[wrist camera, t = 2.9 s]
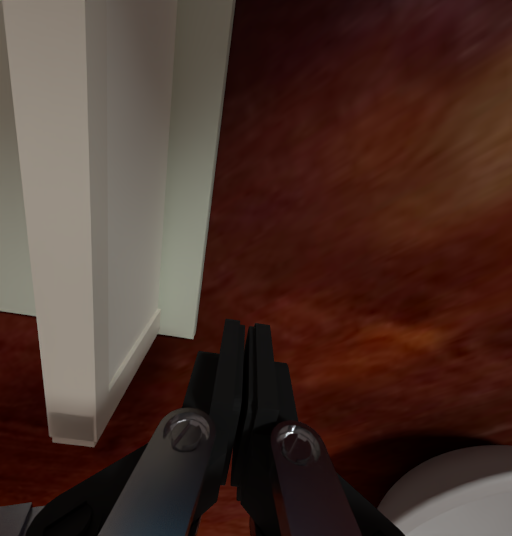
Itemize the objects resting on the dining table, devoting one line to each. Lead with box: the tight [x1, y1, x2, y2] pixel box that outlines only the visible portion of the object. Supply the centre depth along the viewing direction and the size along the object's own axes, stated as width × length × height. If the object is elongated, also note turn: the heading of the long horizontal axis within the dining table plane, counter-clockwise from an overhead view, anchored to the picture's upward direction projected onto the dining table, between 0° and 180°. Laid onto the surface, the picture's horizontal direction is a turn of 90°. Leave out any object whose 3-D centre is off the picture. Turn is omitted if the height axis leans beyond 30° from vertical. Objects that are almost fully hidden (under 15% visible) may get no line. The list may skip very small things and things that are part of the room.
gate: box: [2, 0, 178, 447], centre depth 12 cm, size 18×2×8 cm, turn 170°
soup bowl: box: [377, 445, 512, 536], centre depth 24 cm, size 24×24×7 cm
